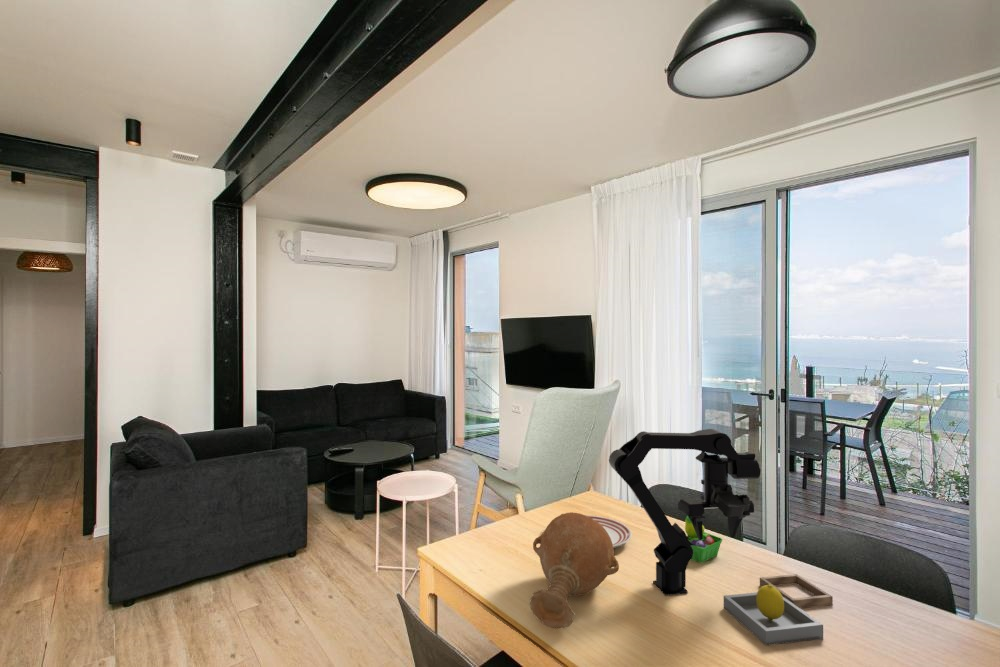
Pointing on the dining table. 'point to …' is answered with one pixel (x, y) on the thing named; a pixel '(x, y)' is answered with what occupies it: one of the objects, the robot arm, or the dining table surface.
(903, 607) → the dining table surface
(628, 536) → the dinner plate
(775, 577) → the lemon holder
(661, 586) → the robot arm
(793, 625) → the tray
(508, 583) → the dining table surface
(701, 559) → the fruit basket
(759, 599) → the lemon
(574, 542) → the jug
